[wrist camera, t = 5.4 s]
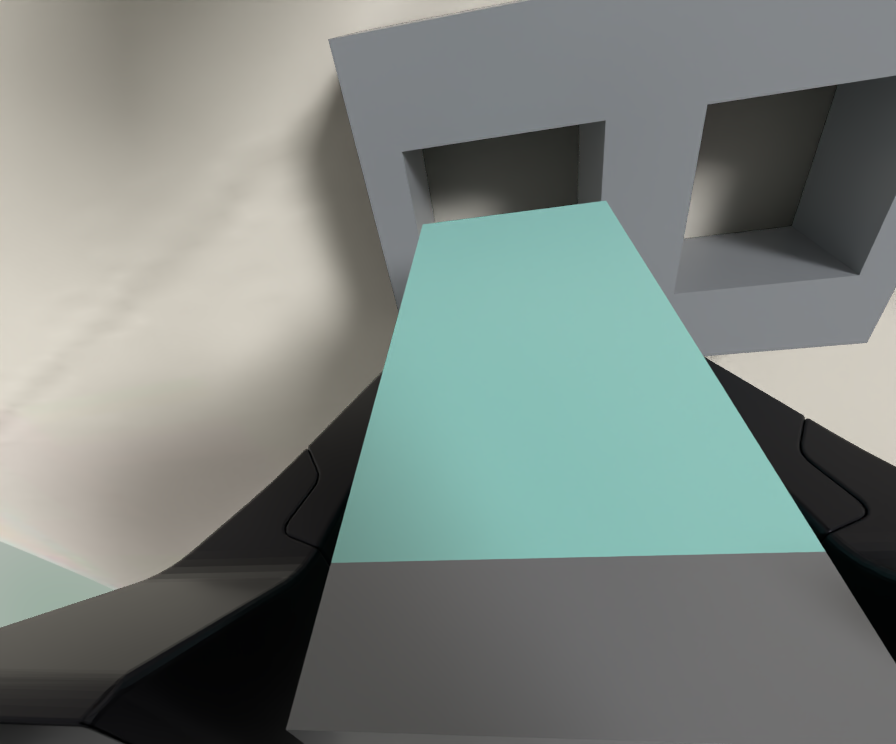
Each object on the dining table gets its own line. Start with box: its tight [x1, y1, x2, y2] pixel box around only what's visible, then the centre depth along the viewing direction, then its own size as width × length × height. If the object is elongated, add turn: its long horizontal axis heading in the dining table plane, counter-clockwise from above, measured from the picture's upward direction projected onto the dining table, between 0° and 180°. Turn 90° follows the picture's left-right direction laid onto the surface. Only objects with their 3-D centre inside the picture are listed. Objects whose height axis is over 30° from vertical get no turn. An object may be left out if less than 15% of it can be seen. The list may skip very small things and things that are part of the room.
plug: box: [286, 201, 896, 744], centre depth 8 cm, size 4×4×9 cm
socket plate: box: [328, 0, 896, 356], centre depth 15 cm, size 11×16×4 cm
